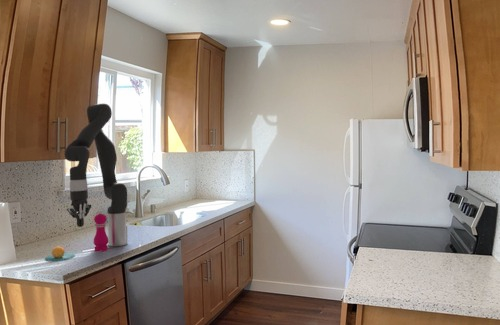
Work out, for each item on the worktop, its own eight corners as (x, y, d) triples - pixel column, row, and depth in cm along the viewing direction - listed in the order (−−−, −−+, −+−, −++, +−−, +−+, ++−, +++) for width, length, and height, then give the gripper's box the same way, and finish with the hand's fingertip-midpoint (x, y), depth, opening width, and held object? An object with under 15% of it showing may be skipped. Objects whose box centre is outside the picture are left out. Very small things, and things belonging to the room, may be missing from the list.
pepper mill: (103, 247, 215) (102, 209, 214) (111, 249, 210) (110, 210, 209) (90, 250, 209) (89, 211, 208) (98, 252, 205) (97, 212, 204)
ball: (58, 248, 200) (64, 243, 198) (61, 259, 198) (68, 254, 196) (47, 250, 195) (54, 245, 193) (51, 261, 193) (58, 255, 191)
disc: (61, 252, 205) (61, 252, 205) (80, 255, 200) (80, 254, 200) (38, 259, 193) (38, 259, 193) (58, 262, 188) (58, 261, 188)
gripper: (83, 187, 197) (85, 223, 198) (61, 190, 185) (63, 228, 186) (95, 187, 195) (97, 224, 196) (73, 191, 182) (75, 229, 183)
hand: (80, 226), depth 191 cm, fingers closed
